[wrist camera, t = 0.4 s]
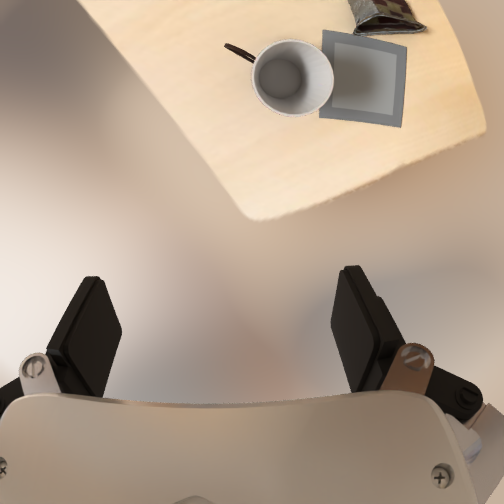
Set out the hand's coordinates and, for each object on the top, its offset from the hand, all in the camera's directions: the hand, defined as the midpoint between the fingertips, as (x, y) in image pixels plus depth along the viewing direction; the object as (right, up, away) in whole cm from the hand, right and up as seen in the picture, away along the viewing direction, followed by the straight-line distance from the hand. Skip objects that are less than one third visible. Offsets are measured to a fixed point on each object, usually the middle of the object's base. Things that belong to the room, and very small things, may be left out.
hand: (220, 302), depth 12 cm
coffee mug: (+4, +26, +24) cm, 35 cm away
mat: (+17, +26, +24) cm, 40 cm away
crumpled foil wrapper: (+23, +37, +20) cm, 48 cm away
